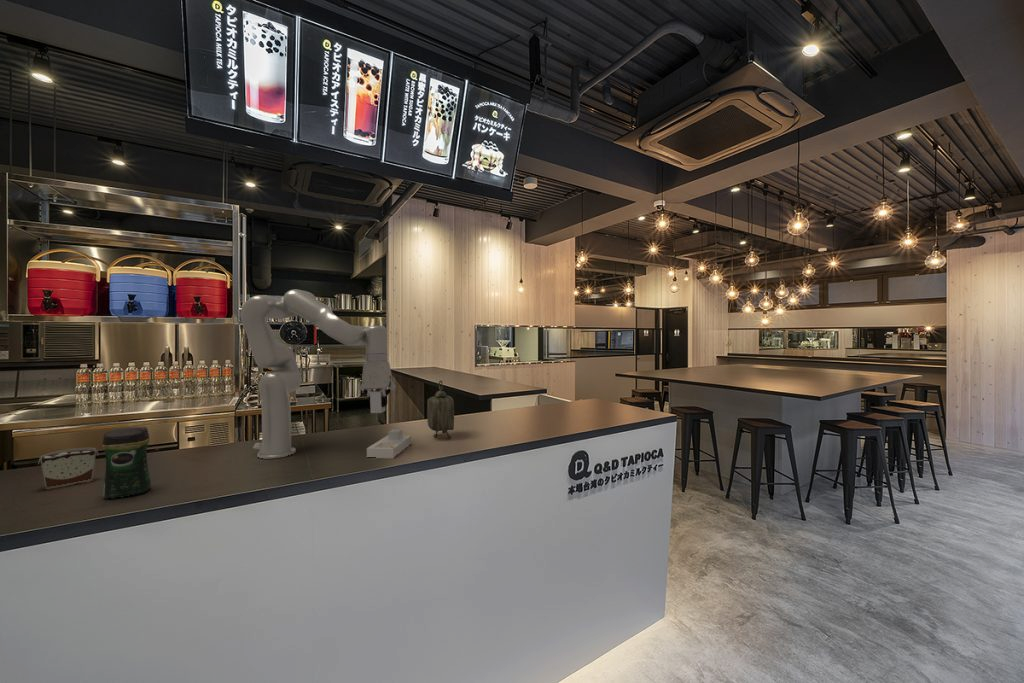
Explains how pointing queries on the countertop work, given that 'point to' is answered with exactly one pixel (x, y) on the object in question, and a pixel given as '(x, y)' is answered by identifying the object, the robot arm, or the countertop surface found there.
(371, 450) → the power strip
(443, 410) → the dark lantern
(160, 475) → the countertop surface
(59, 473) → the food container
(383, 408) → the plug
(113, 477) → the coffee jar
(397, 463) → the countertop surface
